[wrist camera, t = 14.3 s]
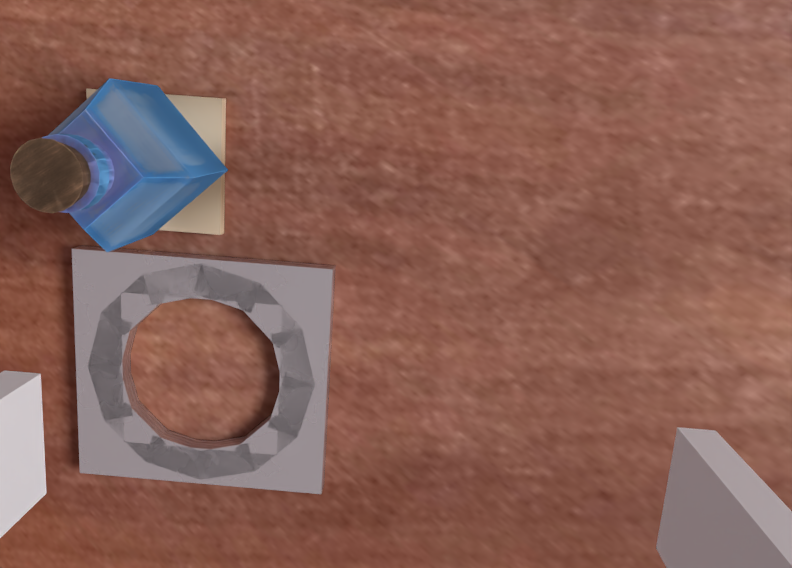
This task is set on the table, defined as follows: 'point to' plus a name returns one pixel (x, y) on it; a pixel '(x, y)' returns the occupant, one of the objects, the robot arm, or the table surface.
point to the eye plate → (229, 284)
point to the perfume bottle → (117, 164)
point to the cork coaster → (211, 127)
